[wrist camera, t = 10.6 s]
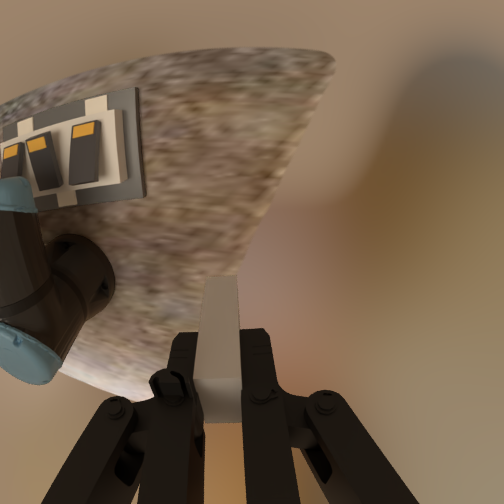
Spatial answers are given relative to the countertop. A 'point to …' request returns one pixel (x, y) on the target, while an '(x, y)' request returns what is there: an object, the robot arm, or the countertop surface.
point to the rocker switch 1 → (13, 160)
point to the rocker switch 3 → (84, 153)
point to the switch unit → (110, 151)
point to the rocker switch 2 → (44, 161)
